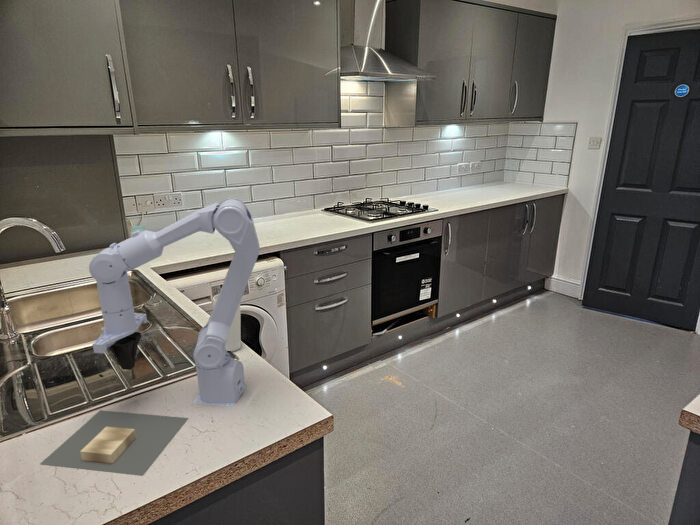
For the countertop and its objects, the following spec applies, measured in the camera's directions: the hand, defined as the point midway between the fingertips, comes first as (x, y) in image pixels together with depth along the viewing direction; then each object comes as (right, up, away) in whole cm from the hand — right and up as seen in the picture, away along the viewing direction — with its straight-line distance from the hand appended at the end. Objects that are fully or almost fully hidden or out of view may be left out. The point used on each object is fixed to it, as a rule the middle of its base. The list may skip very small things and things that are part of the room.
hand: (128, 367), depth 95 cm
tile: (+2, -10, -8) cm, 13 cm away
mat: (+2, -12, -8) cm, 15 cm away
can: (-55, +28, +125) cm, 140 cm away
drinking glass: (+14, -1, +28) cm, 31 cm away
